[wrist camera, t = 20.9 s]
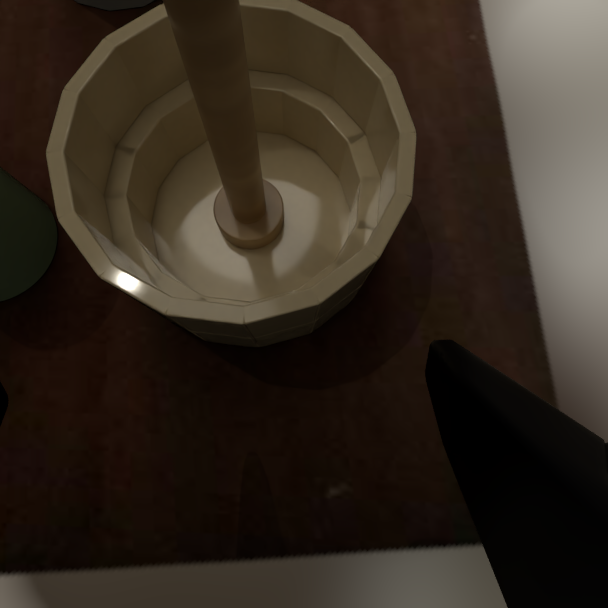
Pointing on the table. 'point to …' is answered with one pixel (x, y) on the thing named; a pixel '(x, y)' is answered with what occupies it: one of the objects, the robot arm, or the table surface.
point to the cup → (115, 3)
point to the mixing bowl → (207, 183)
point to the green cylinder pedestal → (23, 237)
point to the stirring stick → (227, 117)
